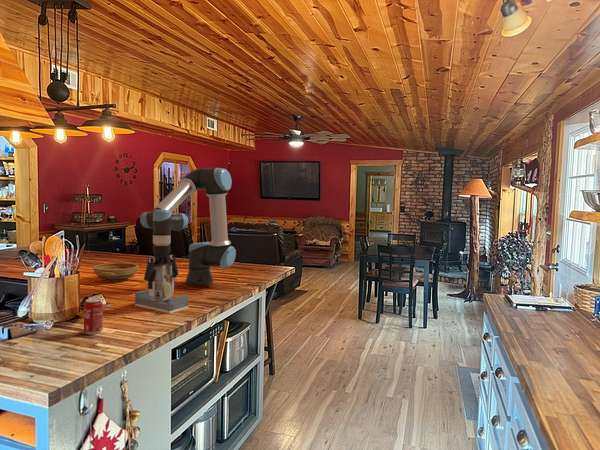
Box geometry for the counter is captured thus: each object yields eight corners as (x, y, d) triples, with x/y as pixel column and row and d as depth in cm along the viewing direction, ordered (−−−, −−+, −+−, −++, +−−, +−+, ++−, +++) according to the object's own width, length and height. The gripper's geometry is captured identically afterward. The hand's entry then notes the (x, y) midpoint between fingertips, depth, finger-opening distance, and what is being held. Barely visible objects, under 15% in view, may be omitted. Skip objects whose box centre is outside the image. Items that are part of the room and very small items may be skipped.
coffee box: (160, 296, 202) (160, 261, 201) (173, 297, 201) (173, 262, 200) (149, 300, 194) (149, 264, 192) (162, 302, 192) (162, 265, 191)
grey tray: (154, 300, 208) (154, 288, 207) (188, 307, 197) (188, 294, 196) (135, 305, 198) (135, 292, 198) (169, 313, 187) (169, 299, 187)
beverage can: (88, 329, 164) (87, 297, 163) (105, 329, 164) (105, 297, 163) (81, 335, 158) (80, 302, 157) (99, 335, 158) (98, 302, 157)
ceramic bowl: (106, 274, 267) (106, 261, 266) (146, 275, 267) (146, 262, 267) (82, 284, 237) (82, 270, 237) (127, 285, 238) (127, 271, 237)
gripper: (175, 241, 207) (174, 288, 209) (134, 246, 188) (134, 297, 189) (186, 242, 203) (186, 290, 205) (146, 247, 184) (146, 299, 185)
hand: (161, 293), depth 197 cm, fingers closed on coffee box, 10 cm apart
